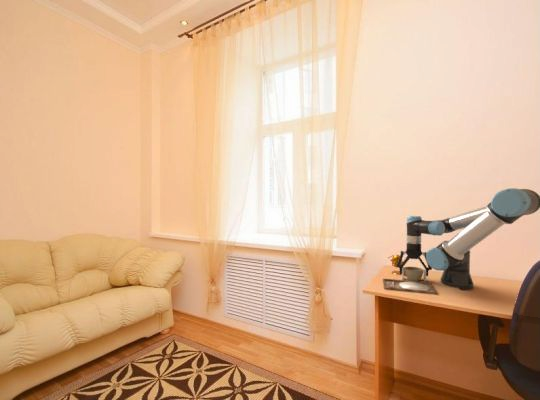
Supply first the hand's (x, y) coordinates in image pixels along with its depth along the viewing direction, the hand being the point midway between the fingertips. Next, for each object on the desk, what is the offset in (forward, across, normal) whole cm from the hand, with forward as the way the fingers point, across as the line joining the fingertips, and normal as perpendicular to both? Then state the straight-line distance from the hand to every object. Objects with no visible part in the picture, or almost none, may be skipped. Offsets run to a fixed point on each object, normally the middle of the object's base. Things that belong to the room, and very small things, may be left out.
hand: (413, 280), depth 161 cm
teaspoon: (-1, +12, +14) cm, 19 cm away
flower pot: (0, 0, 0) cm, 0 cm away
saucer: (-1, +2, +15) cm, 15 cm away
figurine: (0, +7, -13) cm, 15 cm away
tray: (0, +5, +15) cm, 16 cm away
